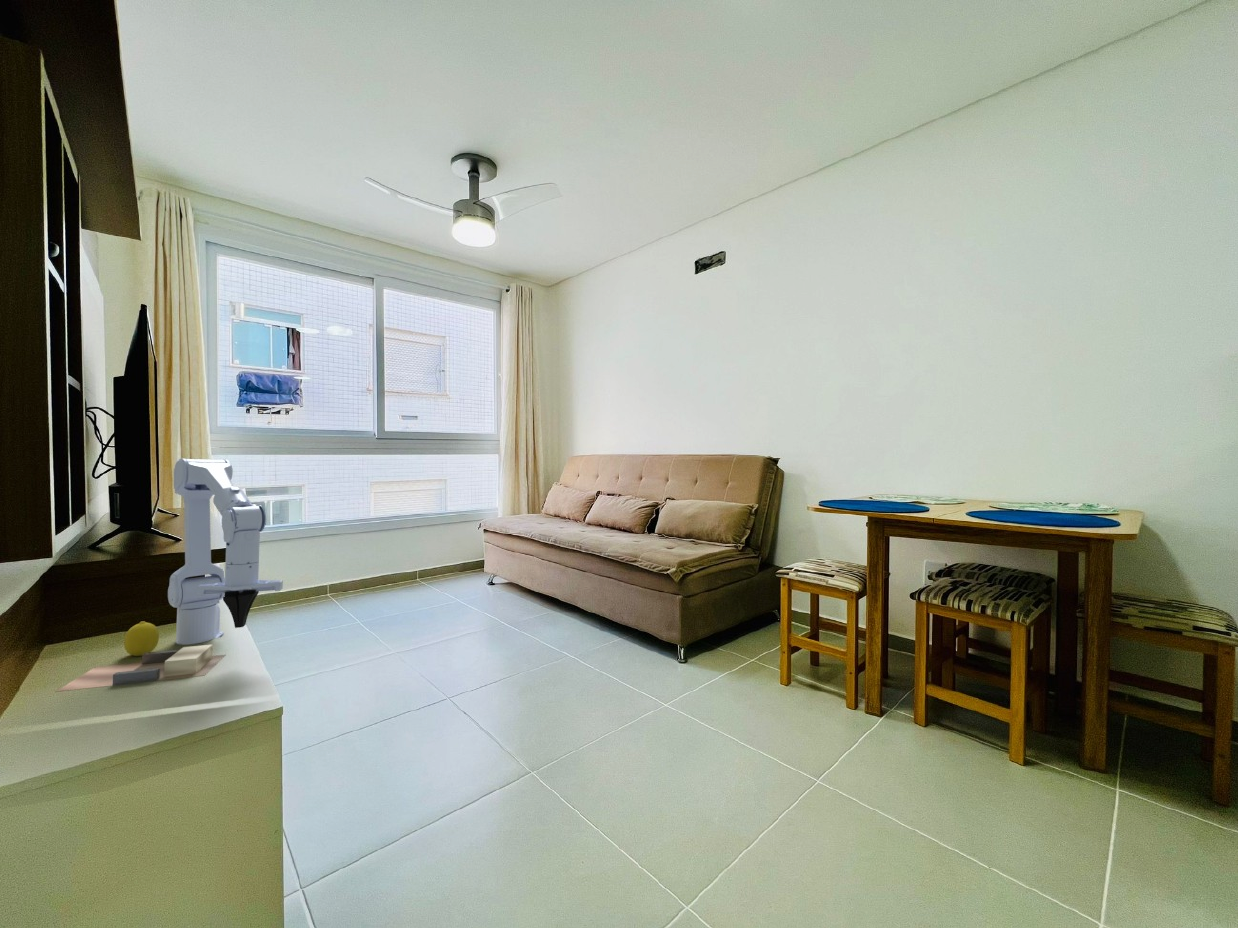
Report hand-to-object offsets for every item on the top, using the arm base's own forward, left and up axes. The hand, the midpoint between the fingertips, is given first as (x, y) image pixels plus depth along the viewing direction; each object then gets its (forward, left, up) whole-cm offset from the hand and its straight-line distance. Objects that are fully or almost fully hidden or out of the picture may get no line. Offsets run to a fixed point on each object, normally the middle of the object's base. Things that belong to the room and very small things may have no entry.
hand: (240, 626), depth 106 cm
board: (0, -15, -8) cm, 17 cm away
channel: (0, -15, -8) cm, 17 cm away
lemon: (-12, -21, -9) cm, 26 cm away
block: (0, -8, -8) cm, 11 cm away
